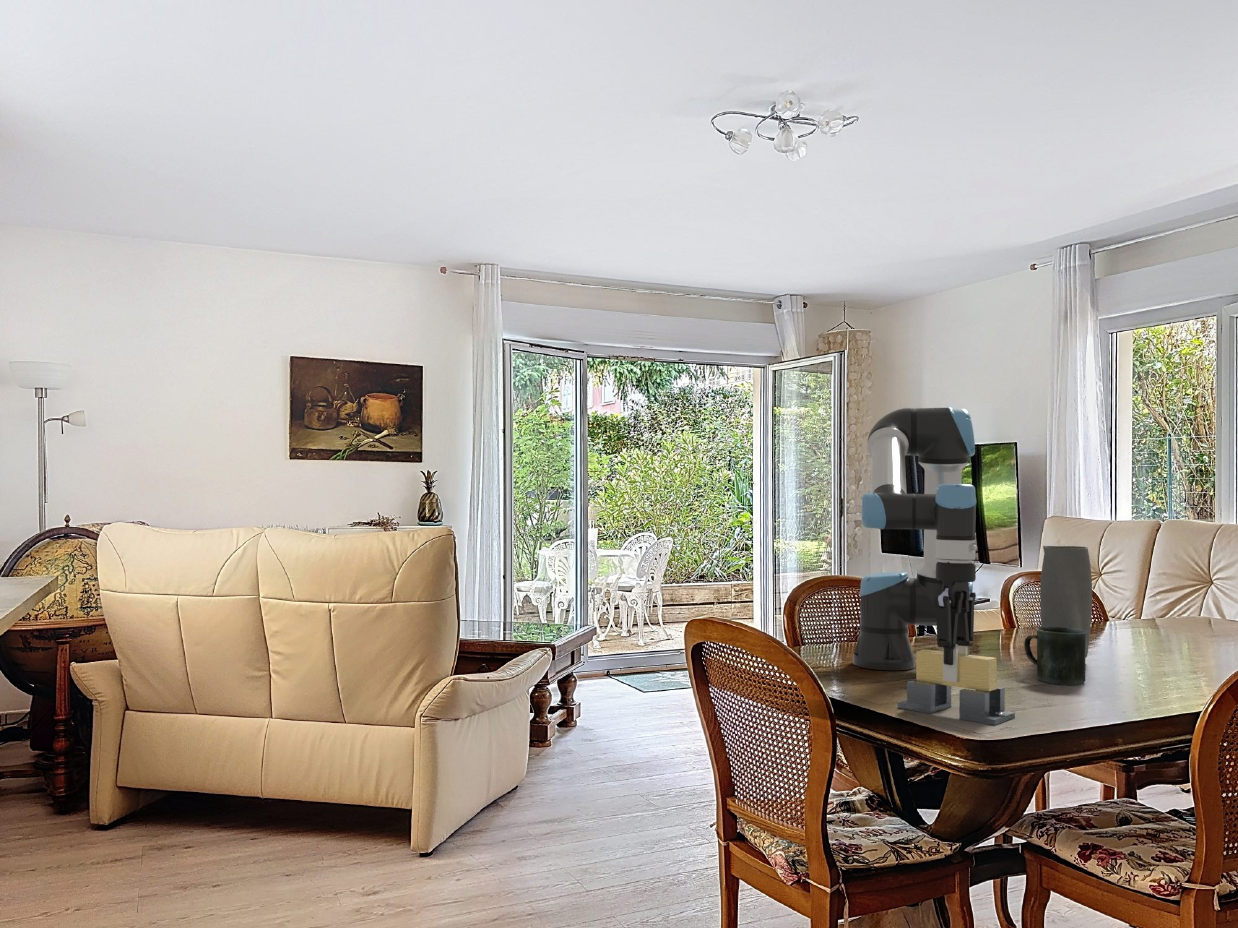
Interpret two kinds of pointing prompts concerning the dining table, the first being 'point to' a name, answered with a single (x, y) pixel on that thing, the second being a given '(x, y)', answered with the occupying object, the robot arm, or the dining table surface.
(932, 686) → the grey slotted bracket
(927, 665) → the wooden beam block
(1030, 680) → the dining table surface
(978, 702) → the grey beam support bracket
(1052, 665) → the mug
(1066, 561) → the vase
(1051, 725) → the dining table surface
